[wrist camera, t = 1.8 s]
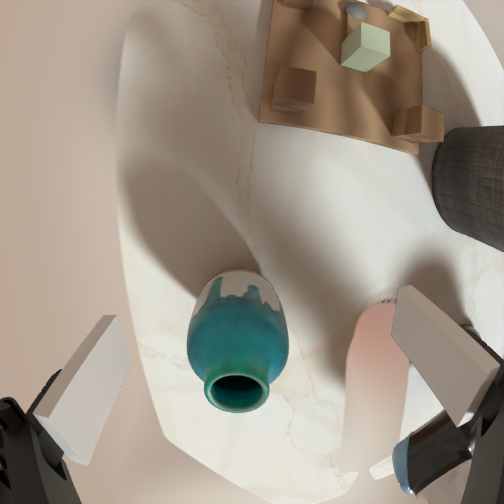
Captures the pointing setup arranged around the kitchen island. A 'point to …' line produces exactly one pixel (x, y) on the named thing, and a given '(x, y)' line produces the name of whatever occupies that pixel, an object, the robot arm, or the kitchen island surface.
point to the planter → (472, 183)
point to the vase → (237, 339)
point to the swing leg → (363, 41)
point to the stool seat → (347, 76)
